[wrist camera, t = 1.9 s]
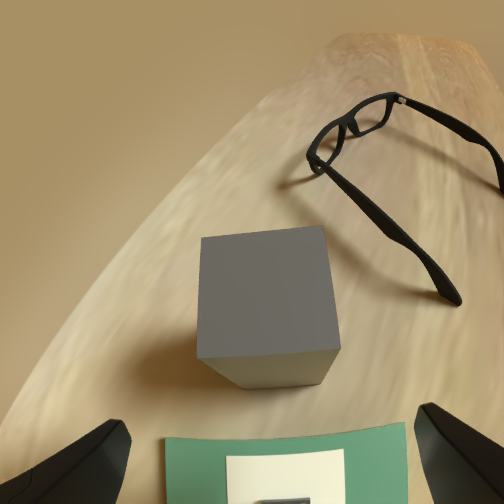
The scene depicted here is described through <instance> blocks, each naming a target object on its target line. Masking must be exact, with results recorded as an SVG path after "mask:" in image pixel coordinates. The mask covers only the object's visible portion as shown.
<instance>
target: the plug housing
mask: <svg viewBox="0 0 504 504" xmlns="http://www.w3.org/2000/svg"><path fill="white" fill-rule="evenodd" d="M340 349H341V344H340V335H339V327H338V319H337V312H336V305H335V298H334V291H333V284H332V277H331V271H330V265H329V258H328V252H327V246H326V241H325V235H324V229H323V226H313V227H302V228H292V229H282V230H271V231H261V232H252V233H242V234H232V235H223V236H213V237H204V238H201V253H200V271H199V293H198V319H197V357H196V358H197V359H199V360H200V361H202V362H203V363H204V364H206V365H207V366H209V367H210V368H212V369H213V370H215V371H216V372H218V373H219V374H221V375H222V376H224V377H225V378H227V379H229V380H230V381H232V382H233V383H235V384H236V385H238V386H240V387H241V388H243V389H263V388H279V387H293V386H304V385H314V384H321V383H322V381H323V379H324V378H325V376H326V374H327V372H328V371H329V369H330V367H331V365H332V363H333V362H334V360H335V358H336V356H337V354H338V353H339V351H340Z"/></svg>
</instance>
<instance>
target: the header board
mask: <svg viewBox="0 0 504 504" xmlns="http://www.w3.org/2000/svg"><path fill="white" fill-rule="evenodd" d="M165 463H166V493H167V504H408V469H407V447H406V431H405V422H401V423H395V424H390V425H385V426H380V427H374V428H369V429H363V430H356V431H350V432H343V433H335V434H327V435H318V436H308V437H296V438H281V439H258V440H212V439H189V438H174V437H168V438H165Z"/></svg>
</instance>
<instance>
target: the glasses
mask: <svg viewBox="0 0 504 504" xmlns="http://www.w3.org/2000/svg"><path fill="white" fill-rule="evenodd" d="M381 99H386V101H387V102H386V110H385V115H384V118H383V119H382V121H381V122H380V123H378V124H377V125H376V126H374V127H372V128H370V129H368V130H366V131H363V132H360V131H359V128H358V126H357V122H356V120H355V119H354V117H355V115H356V113H357V112H358V111H359V110H360V109H361V108H363V107H364V106H366V105H368V104H370V103H372V102H375V101H378V100H381ZM394 102H396V103H398V104H402V103H403V104H405V105H407V106H409V107H411V108H413V109H415V110H417V111H419V112H421V113H423V114H424V115H426V116H428V117H430V118H432V119H433V120H435V121H437V122H439V123H440V124H442V125H444V126H445V127H447V128H449V129H450V130H452V131H454V132H455V133H457V134H458V135H460V136H461V137H462V138H464V139H465V140H466V141H469V142H472V143H476V144H480V145H482V146H484V147H485V148H486V149H488V151H489V152H490V154H491V155H492V158H493V160H494V163H495V167H496V171H497V176H498V181H499V186H500V191H501V192H502V193H503V194H504V162H503V160H502V158H501V157H500V155H499V154H498V152H497V151H496V150H495V148H494V147H493V146H492V145H491V144H490V143H489V142H488V141H487V140H486V139H485V138H484V137H483V136H482V135H480V134H479V133H478V132H476V131H475V130H474V129H472V128H471V127H469V126H468V125H466V124H464V123H463V122H461V121H459V120H457V119H456V118H454V117H452V116H450V115H448V114H446V113H443V112H441V111H439V110H437V109H435V108H432V107H430V106H428V105H425V104H423V103H420V102H418V101H415V100H412V99H409V98H406V97H404V96H402V95H401V94H399V93H396V92H388V93H383V94H379V95H376V96H373V97H370V98H368V99H366V100H364V101H362V102H361V103H359V104H358V105H356V106H355V107H354V108H353V109H352V110H350V111H349V112H348V113H347V114H345V115H344V116H342V117H340V118H338V119H336V120H334V121H332V122H330V123H329V124H328V125H327V126H325V127H324V128H323V129H322V130H321V131H320V133H319V134H318V135H317V136H316V138H315V139H314V141H313V142H312V144H311V145H310V147H309V149H308V151H307V153H306V157H307V161H309V164H310V168H311V170H312V171H313V172H314V173H315V174H323V173H326V174H327V175H328V176H329V177H330V178H331V179H332V180H333V181H334V182H335V183H336V184H337V185H338V186H339V187H340V188H341V189H342V190H343V191H344V192H345V193H346V194H347V195H348V196H349V197H350V198H351V199H352V200H353V201H354V202H355V203H356V204H357V205H358V206H359V207H360V208H361V210H362V211H363V212H364V213H365V214H366V215H367V216H368V217H369V218H370V219H371V220H372V221H373V222H374V223H375V224H376V225H377V226H378V227H379V228H380V230H381V231H382V232H383V233H384V234H385V235H386V236H387V237H388V238H390V239H392V240H394V241H396V242H397V243H399V244H401V245H403V246H405V247H406V248H408V249H409V250H411V251H412V252H413V253H415V254H416V255H417V257H418V258H419V259H420V260H421V261H422V263H423V264H424V266H425V268H426V269H427V271H428V273H429V275H430V277H431V279H432V280H433V282H434V284H435V286H436V288H437V290H438V292H439V293H440V295H441V296H443V297H445V298H446V299H448V300H450V301H451V302H453V303H454V304H456V305H457V306H460V305H461V304H462V299H461V297H460V295H459V293H458V291H457V290H456V288H455V287H454V285H453V284H452V282H451V281H450V280H449V278H448V277H447V275H446V274H445V273H444V272H443V270H442V269H441V268H440V267H439V266H438V265H437V264H436V262H435V261H434V260H433V259H432V258H431V257H430V256H429V255H428V254H427V253H426V252H425V251H424V250H423V249H422V248H420V247H419V246H418V245H417V244H416V243H415V242H414V241H413V240H412V239H411V238H410V237H409V236H408V235H407V234H406V233H405V232H404V231H403V230H402V229H401V228H400V227H399V226H398V225H397V224H396V223H395V222H394V221H393V220H392V219H391V218H390V217H389V216H388V215H387V214H386V213H385V212H383V211H382V210H381V209H380V208H379V207H378V206H377V205H376V204H375V203H374V202H373V201H371V200H370V199H369V198H368V197H367V196H366V195H365V194H363V193H362V192H361V191H360V190H359V189H358V188H356V187H355V186H354V185H353V184H351V183H350V182H349V181H348V180H346V179H345V178H344V177H343V176H341V175H340V174H339V173H338V172H337V171H335V170H334V169H333V168H332V167H331V166H330V164H331V163H332V162H333V160H334V159H335V158H336V157H337V156H338V155H339V153H340V152H341V149H342V146H343V143H344V139H345V135H346V129H347V126H348V128H349V130H350V131H351V132H352V133H353V134H354V135H356V136H359V137H362V136H363V135H365V134H367V133H369V132H371V131H374V130H376V129H379V128H381V127H383V126H384V125H385V123H386V122H387V120H388V119H389V116H390V114H391V111H392V107H393V104H394ZM336 125H339V133H338V141H337V145H336V149H335V151H334V153H333V154H332V156H331V157H330V159H329V160H328V161H327V162H325V161H324V160H323V158H320V157H319V156H317V155H316V150H317V147H318V145H319V143H320V142H321V140H322V139H323V138H324V136H325V135H326V134H327V133H328V132H329V131H330V130H331V129H332V128H333V127H335V126H336ZM318 167H321V168H320V169H319V168H318Z"/></svg>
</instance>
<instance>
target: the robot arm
mask: <svg viewBox="0 0 504 504" xmlns="http://www.w3.org/2000/svg"><path fill="white" fill-rule="evenodd" d="M414 431H415V435H416V439H417V444H418V448H419V453H420V457H421V462H422V467H423V471H424V474H425V477H426V480H427V483H428V486H429V489H430V492H431V495H432V498H433V501H434V504H504V448H503V447H502V446H500V445H499V444H497V443H495V442H494V441H492V440H491V439H489V438H487V437H486V436H484V435H483V434H481V433H480V432H478V431H476V430H475V429H473V428H472V427H470V426H469V425H467V424H465V423H464V422H462V421H461V420H459V419H458V418H456V417H455V416H453V415H451V414H450V413H448V412H447V411H445V410H444V409H442V408H441V407H439V406H438V405H436V404H435V403H432V402H430V403H426V404H422V405H420V406H419V408H418V411H417V415H416V419H415V423H414ZM131 443H132V440H131V436H130V434H129V432H128V430H127V428H126V426H125V424H124V422H123V421H122V420H118V419H109V420H108V421H106V422H105V423H103V424H101V425H100V426H98V427H97V428H95V429H94V430H92V431H91V432H89V433H88V434H86V435H85V436H83V437H81V438H80V439H78V440H77V441H75V442H74V443H72V444H70V445H69V446H67V447H66V448H64V449H62V450H61V451H59V452H58V453H56V454H54V455H53V456H51V457H49V458H48V459H46V460H45V461H43V462H41V463H40V464H38V465H36V466H35V467H33V468H31V469H29V470H28V471H26V472H24V473H22V474H21V475H19V476H17V477H15V478H13V479H11V480H9V481H7V482H5V483H3V484H0V504H116V501H117V498H118V495H119V492H120V489H121V486H122V483H123V479H124V475H125V471H126V466H127V461H128V457H129V452H130V448H131Z"/></svg>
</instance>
